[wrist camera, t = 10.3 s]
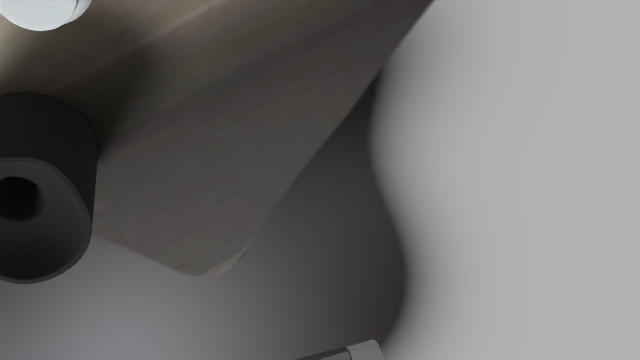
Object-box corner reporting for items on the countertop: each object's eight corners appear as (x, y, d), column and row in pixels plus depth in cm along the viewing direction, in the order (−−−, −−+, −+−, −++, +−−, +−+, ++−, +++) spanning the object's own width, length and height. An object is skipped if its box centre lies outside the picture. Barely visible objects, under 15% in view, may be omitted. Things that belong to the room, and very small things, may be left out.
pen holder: (0, 209, 44) (-35, 302, 36) (-66, 103, 39) (-123, 184, 31) (121, 178, 45) (114, 262, 37) (74, 71, 40) (53, 141, 32)
